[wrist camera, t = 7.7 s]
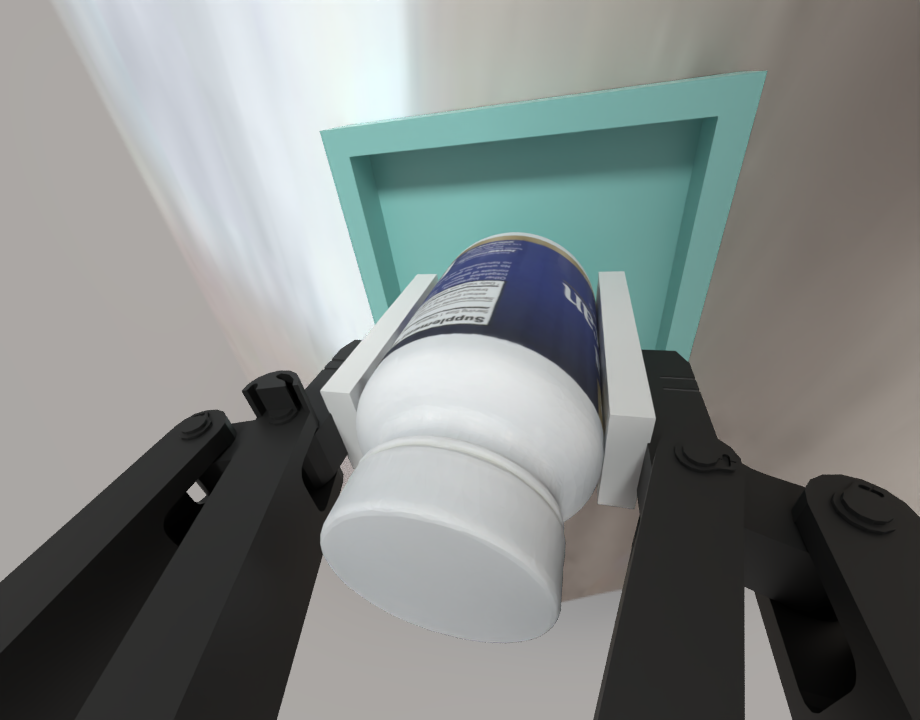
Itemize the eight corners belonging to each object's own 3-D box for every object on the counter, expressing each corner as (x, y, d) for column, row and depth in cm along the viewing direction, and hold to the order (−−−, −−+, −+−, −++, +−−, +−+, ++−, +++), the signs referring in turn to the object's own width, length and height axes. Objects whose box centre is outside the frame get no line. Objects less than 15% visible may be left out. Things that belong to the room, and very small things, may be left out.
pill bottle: (616, 342, 13) (658, 683, 6) (483, 377, 16) (394, 649, 8) (563, 196, 11) (519, 451, 4) (417, 264, 14) (212, 499, 6)
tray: (349, 124, 14) (319, 131, 12) (739, 71, 10) (766, 70, 9) (413, 385, 20) (399, 410, 19) (660, 403, 17) (667, 435, 16)
